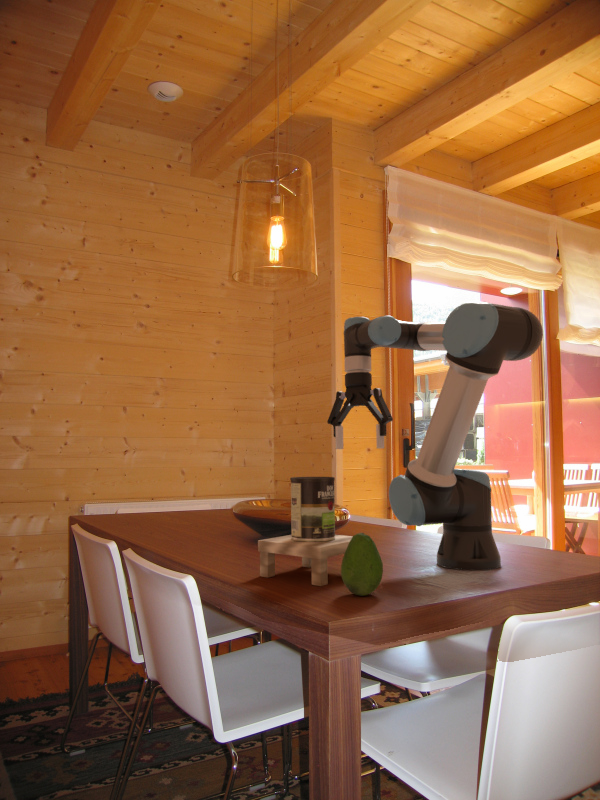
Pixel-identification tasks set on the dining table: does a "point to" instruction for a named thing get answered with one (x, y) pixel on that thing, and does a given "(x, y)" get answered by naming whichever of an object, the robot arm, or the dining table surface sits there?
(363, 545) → the fruit
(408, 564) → the dining table surface
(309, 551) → the footstool
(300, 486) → the coffee can
